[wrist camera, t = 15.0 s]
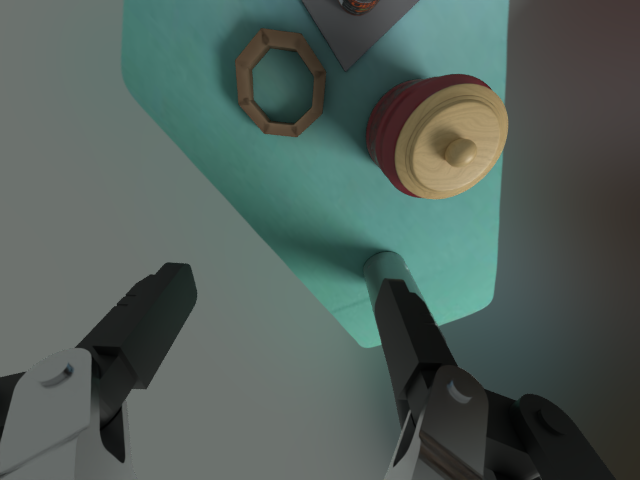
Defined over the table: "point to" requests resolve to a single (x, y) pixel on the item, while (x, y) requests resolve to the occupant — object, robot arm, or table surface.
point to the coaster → (355, 26)
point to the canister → (437, 134)
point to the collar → (245, 80)
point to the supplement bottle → (358, 6)
